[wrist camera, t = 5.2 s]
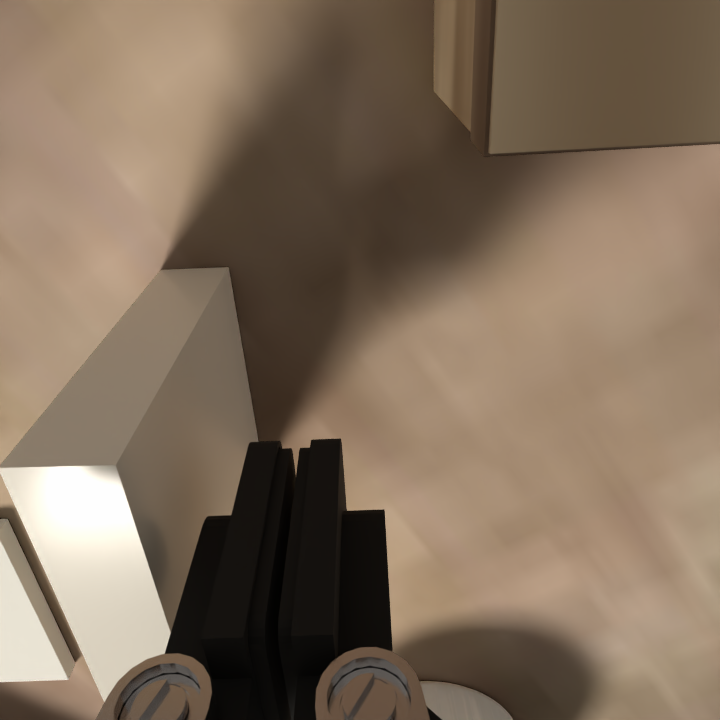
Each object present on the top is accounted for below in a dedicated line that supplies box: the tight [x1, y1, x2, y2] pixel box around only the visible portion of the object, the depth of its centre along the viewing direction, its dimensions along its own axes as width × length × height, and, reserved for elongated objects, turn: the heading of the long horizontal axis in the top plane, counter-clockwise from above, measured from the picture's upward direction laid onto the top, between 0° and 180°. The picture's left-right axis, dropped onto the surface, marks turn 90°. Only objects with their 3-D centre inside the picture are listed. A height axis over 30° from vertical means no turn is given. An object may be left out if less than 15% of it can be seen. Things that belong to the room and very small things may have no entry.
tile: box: [0, 267, 259, 702], centre depth 13 cm, size 2×6×7 cm, turn 3°
